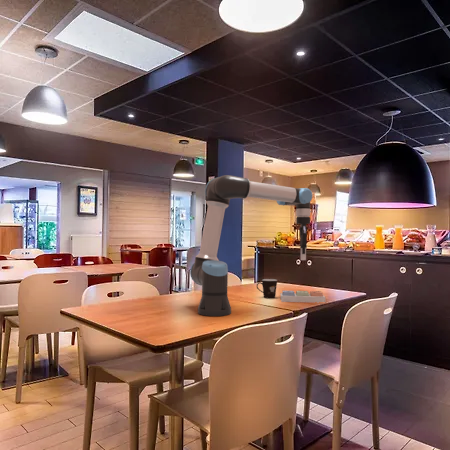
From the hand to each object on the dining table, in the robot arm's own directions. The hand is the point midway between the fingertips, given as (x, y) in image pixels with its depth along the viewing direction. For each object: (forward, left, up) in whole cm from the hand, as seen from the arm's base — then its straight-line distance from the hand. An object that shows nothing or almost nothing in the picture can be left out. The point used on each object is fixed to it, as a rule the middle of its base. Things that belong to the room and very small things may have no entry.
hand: (303, 259), depth 212 cm
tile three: (+7, 0, -20) cm, 21 cm away
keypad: (0, 0, -22) cm, 22 cm away
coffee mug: (-19, +7, -22) cm, 30 cm away
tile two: (0, 0, -20) cm, 20 cm away
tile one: (-8, 0, -20) cm, 22 cm away
